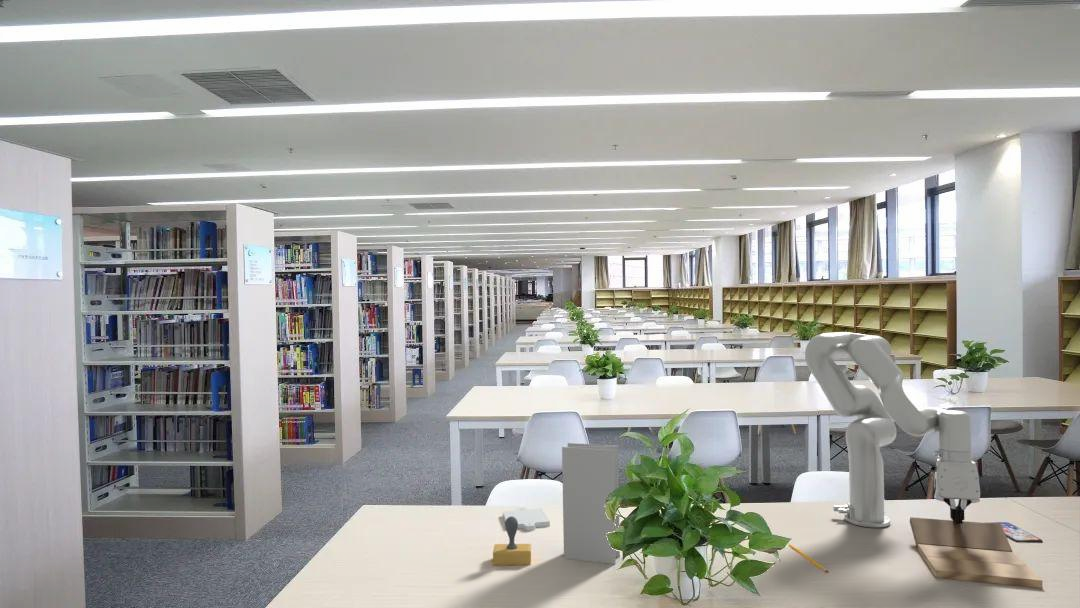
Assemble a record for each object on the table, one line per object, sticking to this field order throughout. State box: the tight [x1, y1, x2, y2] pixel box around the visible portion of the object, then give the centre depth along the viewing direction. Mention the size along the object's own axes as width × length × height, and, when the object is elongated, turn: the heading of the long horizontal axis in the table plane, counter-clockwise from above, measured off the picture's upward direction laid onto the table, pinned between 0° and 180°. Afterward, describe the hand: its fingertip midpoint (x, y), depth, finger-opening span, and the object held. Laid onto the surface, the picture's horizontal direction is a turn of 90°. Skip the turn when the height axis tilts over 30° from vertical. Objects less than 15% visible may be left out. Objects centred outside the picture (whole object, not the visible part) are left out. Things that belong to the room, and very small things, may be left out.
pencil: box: [788, 544, 829, 573], centre depth 173 cm, size 1×19×1 cm, turn 8°
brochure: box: [561, 442, 621, 565], centre depth 175 cm, size 14×6×30 cm, turn 71°
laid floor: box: [917, 544, 1043, 589], centre depth 164 cm, size 22×18×2 cm
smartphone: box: [991, 521, 1044, 543], centre depth 188 cm, size 8×1×15 cm
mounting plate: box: [502, 507, 551, 532], centre depth 205 cm, size 18×13×2 cm
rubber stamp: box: [492, 516, 532, 566], centre depth 174 cm, size 10×6×12 cm, turn 90°
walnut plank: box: [909, 516, 1013, 552], centre depth 177 cm, size 22×9×2 cm, turn 72°
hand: (957, 522), depth 179 cm, fingers closed
